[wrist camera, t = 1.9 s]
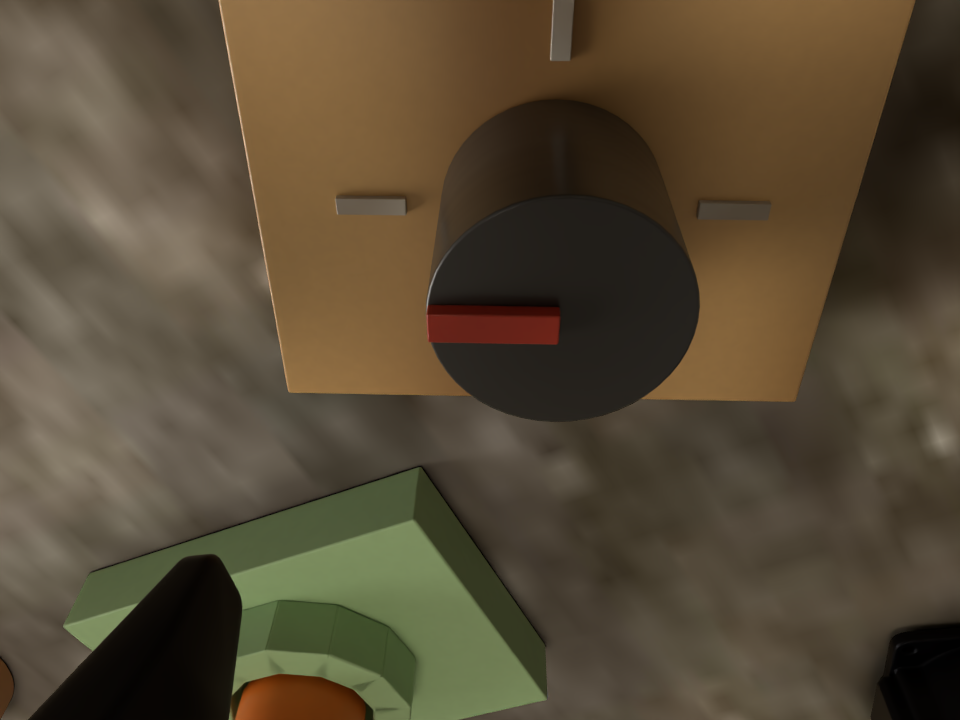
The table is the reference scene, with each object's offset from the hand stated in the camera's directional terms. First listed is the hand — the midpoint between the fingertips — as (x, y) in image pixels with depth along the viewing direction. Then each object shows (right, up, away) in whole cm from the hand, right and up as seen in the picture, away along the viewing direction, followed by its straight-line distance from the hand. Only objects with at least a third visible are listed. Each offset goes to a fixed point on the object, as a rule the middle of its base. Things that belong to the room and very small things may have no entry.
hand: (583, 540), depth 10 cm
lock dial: (0, +5, +7) cm, 9 cm away
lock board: (0, +7, +9) cm, 12 cm away
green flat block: (-7, -7, +20) cm, 22 cm away
